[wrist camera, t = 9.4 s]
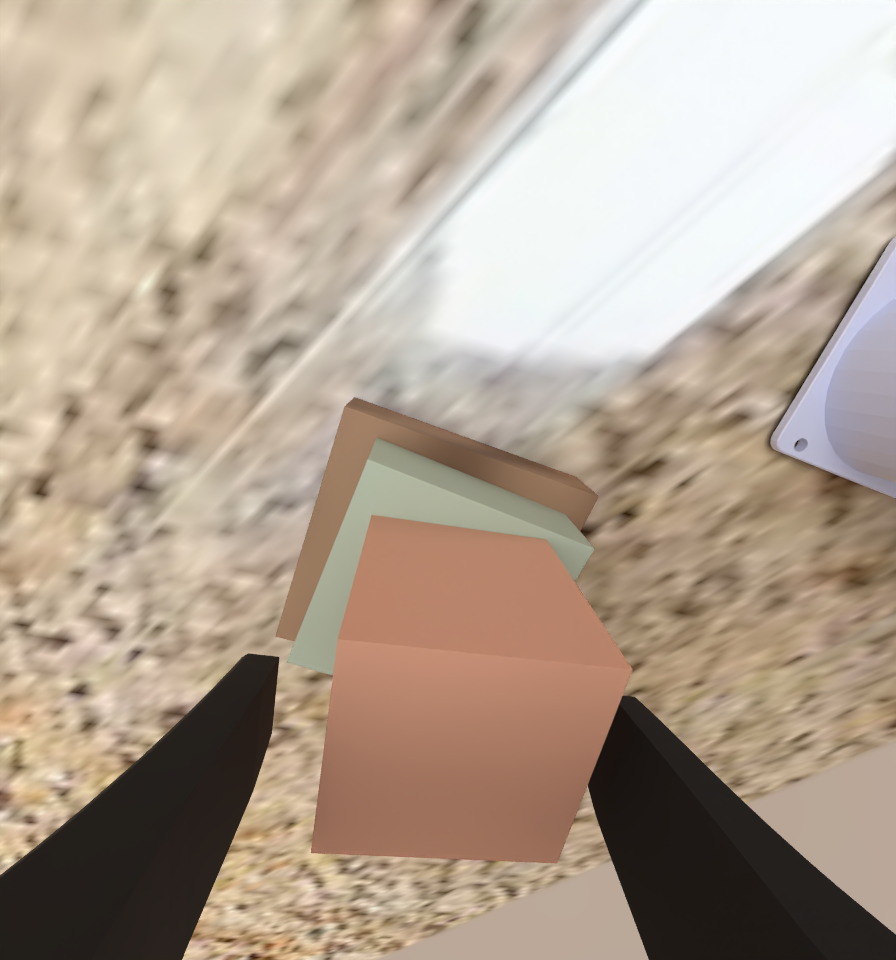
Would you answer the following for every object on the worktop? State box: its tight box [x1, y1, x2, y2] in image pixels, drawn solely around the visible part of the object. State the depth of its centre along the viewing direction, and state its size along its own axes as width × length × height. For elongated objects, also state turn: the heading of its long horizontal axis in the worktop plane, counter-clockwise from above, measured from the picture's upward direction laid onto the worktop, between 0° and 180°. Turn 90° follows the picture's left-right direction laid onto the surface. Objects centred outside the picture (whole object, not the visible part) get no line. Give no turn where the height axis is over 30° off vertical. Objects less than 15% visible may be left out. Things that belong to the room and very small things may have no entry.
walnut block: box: [276, 397, 598, 641], centre depth 16 cm, size 9×9×2 cm
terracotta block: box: [311, 515, 633, 863], centre depth 10 cm, size 5×5×5 cm
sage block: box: [287, 437, 594, 675], centre depth 14 cm, size 7×7×2 cm
